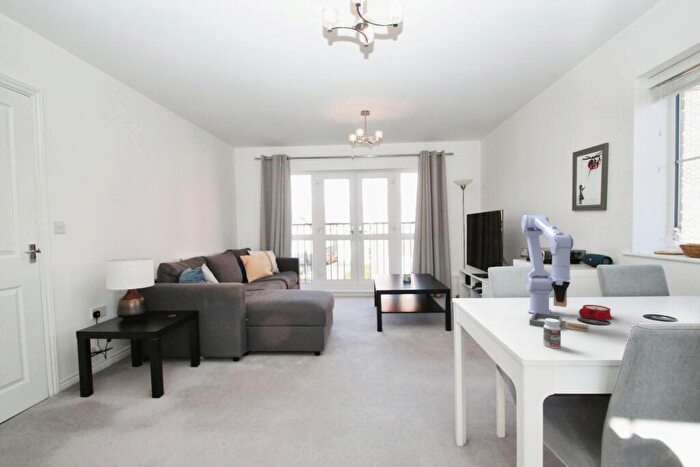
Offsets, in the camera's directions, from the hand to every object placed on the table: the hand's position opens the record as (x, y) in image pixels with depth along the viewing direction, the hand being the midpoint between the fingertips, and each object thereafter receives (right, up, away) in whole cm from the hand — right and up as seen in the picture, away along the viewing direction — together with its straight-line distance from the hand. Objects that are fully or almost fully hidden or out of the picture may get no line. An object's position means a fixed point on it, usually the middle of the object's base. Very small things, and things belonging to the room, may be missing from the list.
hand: (560, 300), depth 125 cm
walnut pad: (+4, -10, -3) cm, 11 cm away
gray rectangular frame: (-4, -9, +3) cm, 11 cm away
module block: (0, -2, 0) cm, 2 cm away
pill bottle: (-17, -10, -21) cm, 29 cm away
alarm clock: (+21, -10, +11) cm, 26 cm away
